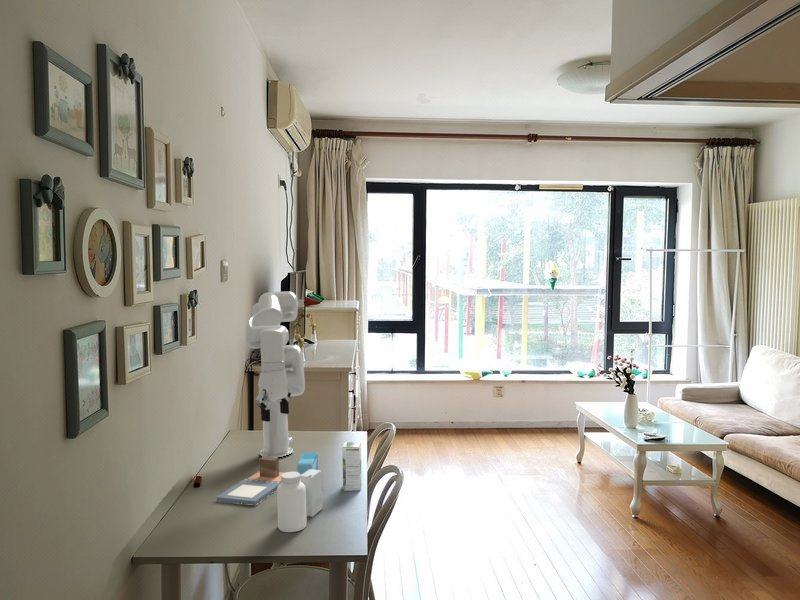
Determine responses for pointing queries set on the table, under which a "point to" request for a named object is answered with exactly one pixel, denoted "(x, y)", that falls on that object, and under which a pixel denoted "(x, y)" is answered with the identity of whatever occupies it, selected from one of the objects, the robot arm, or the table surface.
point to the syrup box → (352, 466)
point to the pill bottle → (291, 503)
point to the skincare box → (312, 491)
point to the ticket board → (248, 492)
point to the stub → (268, 470)
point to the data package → (307, 462)
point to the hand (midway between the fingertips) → (275, 417)
